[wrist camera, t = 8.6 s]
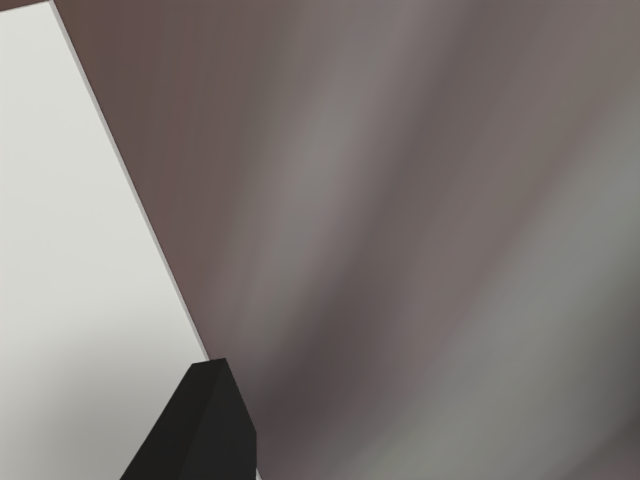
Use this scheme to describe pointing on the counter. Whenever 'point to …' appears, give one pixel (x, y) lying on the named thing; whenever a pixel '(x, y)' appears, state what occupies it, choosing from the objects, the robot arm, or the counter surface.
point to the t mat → (75, 274)
